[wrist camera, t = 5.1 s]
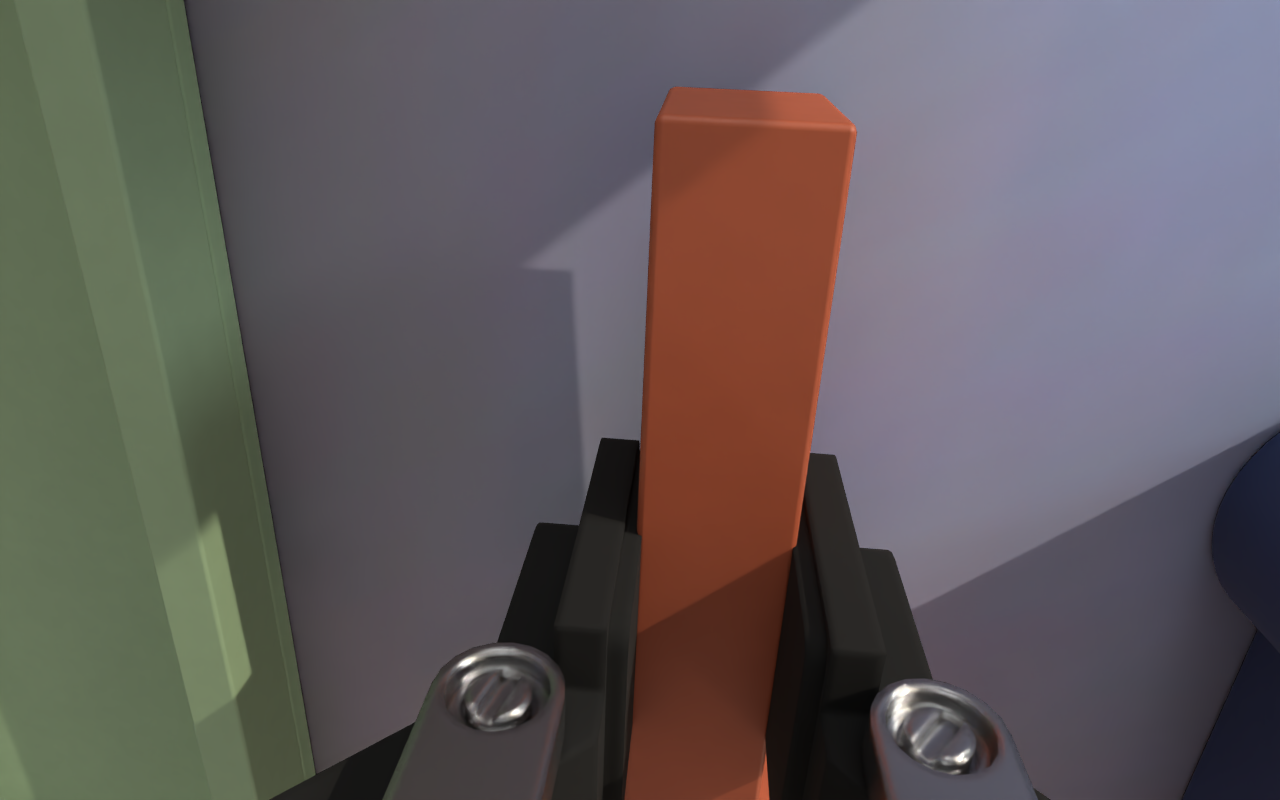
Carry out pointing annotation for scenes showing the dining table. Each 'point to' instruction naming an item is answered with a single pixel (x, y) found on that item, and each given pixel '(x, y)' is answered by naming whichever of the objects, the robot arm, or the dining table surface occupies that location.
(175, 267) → the tray
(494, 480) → the dining table surface
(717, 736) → the terracotta spoon
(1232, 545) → the blue spoon
